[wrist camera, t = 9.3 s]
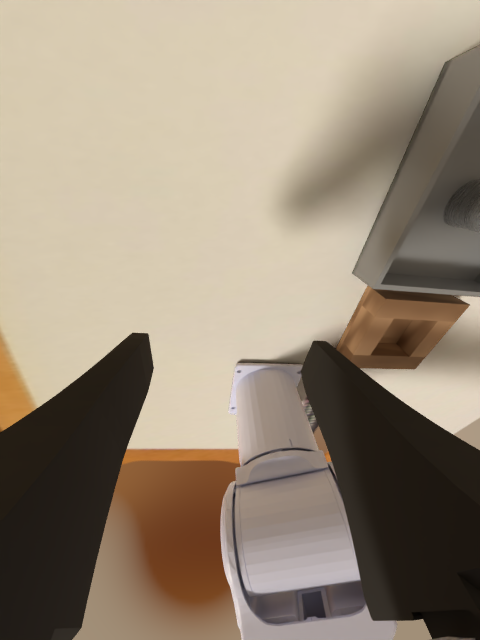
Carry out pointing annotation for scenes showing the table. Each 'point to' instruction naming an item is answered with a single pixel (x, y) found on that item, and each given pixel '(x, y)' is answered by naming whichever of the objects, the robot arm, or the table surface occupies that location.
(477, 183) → the pin
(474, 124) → the tray
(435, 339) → the pin block
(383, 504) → the robot arm
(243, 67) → the table surface
